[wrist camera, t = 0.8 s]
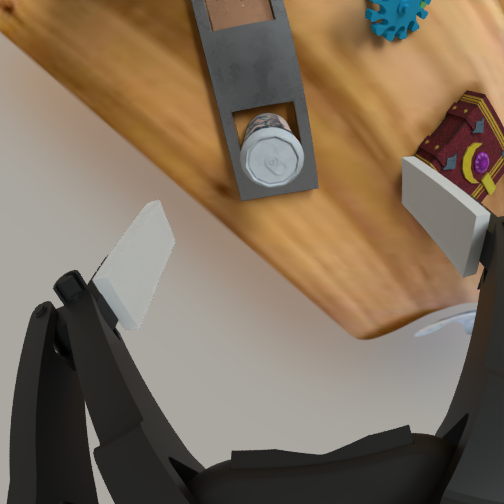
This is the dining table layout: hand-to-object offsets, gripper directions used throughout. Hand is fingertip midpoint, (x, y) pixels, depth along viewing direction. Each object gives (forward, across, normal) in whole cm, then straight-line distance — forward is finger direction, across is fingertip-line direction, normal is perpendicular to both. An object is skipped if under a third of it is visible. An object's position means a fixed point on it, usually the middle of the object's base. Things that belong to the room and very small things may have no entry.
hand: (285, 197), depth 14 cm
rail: (+19, 0, +8) cm, 20 cm away
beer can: (+19, 0, 0) cm, 19 cm away
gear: (+19, +17, +14) cm, 29 cm away
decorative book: (+19, +26, -5) cm, 32 cm away
